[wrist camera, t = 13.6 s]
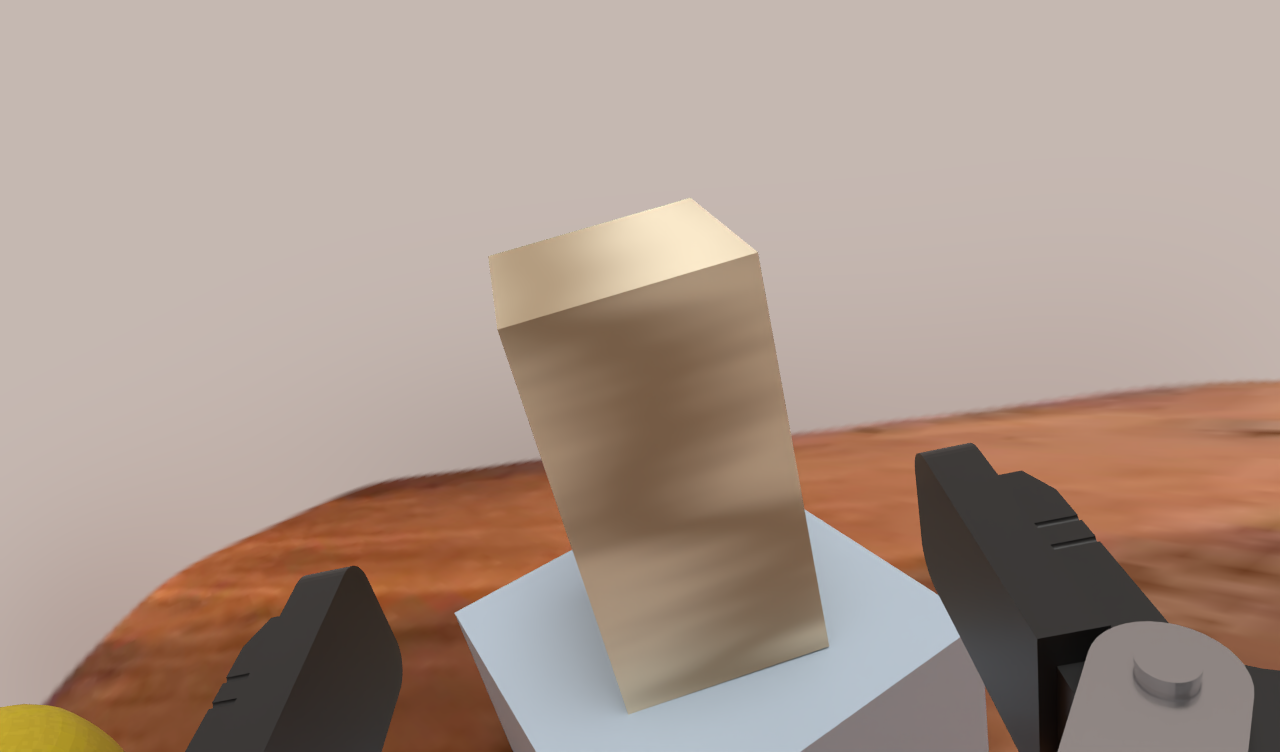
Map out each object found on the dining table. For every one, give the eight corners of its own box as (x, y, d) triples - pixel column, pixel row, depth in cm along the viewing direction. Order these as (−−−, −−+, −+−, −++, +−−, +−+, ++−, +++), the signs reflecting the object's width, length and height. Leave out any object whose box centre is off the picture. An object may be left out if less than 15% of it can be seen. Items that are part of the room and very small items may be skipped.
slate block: (761, 600, 30) (732, 463, 28) (991, 791, 22) (980, 622, 20) (513, 754, 27) (454, 612, 24) (677, 1051, 18) (614, 885, 16)
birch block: (760, 528, 24) (690, 198, 20) (829, 646, 20) (757, 252, 16) (596, 582, 24) (488, 256, 20) (628, 714, 19) (497, 329, 15)
